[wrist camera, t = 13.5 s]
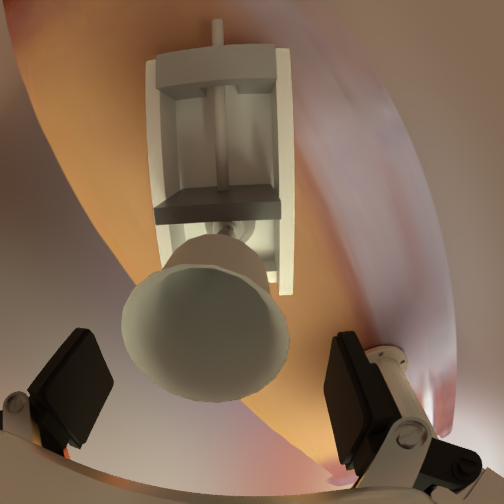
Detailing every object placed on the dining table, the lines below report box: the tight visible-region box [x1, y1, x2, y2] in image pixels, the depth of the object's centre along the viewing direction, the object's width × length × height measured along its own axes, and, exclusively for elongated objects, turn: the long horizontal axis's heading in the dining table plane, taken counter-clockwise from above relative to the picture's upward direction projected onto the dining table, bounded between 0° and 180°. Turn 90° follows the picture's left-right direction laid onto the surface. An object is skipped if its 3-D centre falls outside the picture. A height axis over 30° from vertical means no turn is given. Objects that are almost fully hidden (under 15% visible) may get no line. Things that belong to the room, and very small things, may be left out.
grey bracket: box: [146, 44, 295, 295], centre depth 23 cm, size 21×11×7 cm, turn 2°
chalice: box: [121, 220, 290, 403], centre depth 18 cm, size 7×7×18 cm
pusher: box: [153, 19, 281, 225], centre depth 18 cm, size 17×8×9 cm, turn 2°
